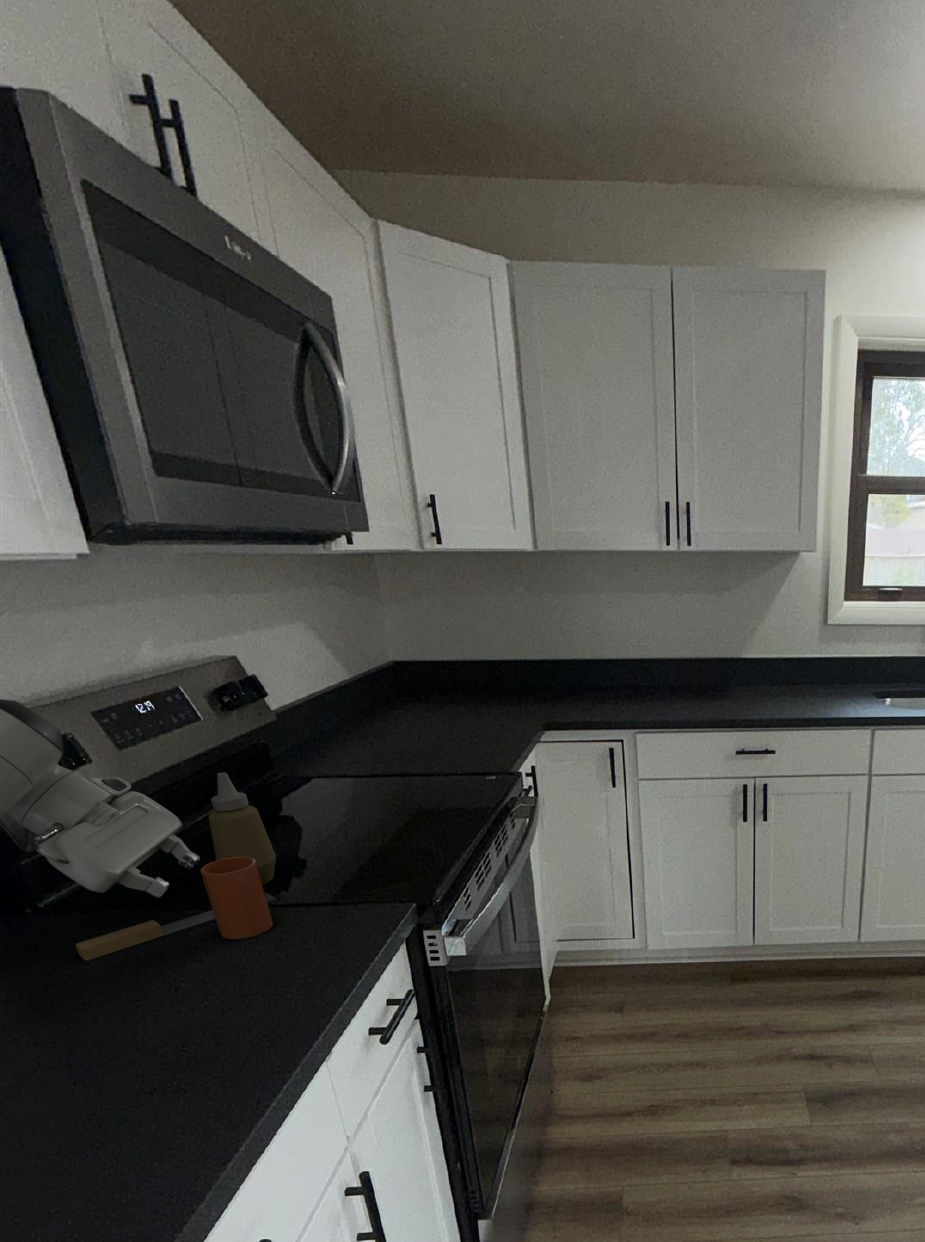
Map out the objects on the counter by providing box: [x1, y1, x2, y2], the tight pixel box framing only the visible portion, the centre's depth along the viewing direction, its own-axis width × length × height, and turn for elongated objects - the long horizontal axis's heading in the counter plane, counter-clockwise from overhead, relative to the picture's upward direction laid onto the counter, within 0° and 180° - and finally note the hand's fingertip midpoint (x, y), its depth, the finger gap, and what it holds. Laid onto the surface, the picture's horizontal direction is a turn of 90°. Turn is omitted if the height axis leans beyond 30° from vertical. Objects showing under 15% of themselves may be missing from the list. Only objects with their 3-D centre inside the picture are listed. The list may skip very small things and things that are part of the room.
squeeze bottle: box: [208, 771, 277, 885], centre depth 123 cm, size 8×8×18 cm
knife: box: [75, 892, 277, 962], centre depth 113 cm, size 24×3×2 cm, turn 142°
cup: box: [200, 857, 274, 940], centre depth 110 cm, size 6×6×10 cm
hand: (181, 877), depth 107 cm, fingers open, 8 cm apart
